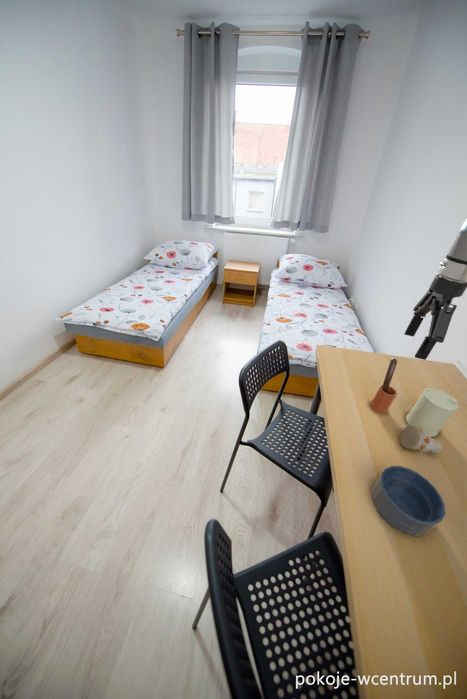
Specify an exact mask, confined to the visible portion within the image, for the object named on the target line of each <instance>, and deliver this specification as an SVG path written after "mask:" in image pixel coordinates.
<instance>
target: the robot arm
mask: <svg viewBox="0 0 467 699" xmlns="http://www.w3.org/2000/svg"><path fill="white" fill-rule="evenodd" d="M439 266H440V267H439V269H438V271H437V272H438V274H435V275H434V278H433V280H432V282H431V283H430V285H429V287H428V289H427V291H426V293H425V294H424V295H423V296H422V298H421V299H420V300H419V301H418V302H417V303H416V304H415V306H414V307H413V309H412V311H413V316H412V318H411V319H410V321H409V323H408V326H407V327H406V330H405V331H404V333H403V334H404V335H405V336H409V337H415V335H416V333H417V332H418V330H419V328H420V327H421V324H422V323H423V321H424V318H426V315H427V314H428V313H430V315H431V316H432V317H431V321H430V326H429V330H428V334H427V336H424V339H423V340H422V343H421V345H420V346H419V348H418V350H417V351H416V353H415V354H414V358H416V359H420V360H423V361H426V360H427V358H428V357H429V355H430V353H431V352H432V350H433V349H434V347H435V345H436V344H437V343H441V344H442V343H444V341H445V339H446V335H447V333H448V330H449V326H450V324H451V321H452V318H453V316H454V312H455V311H456V310H457V307H458V305H457V304H452V302H453V299H455V298H461V297H462V296H463V295H464V293H465V291H466V289H467V218H466V219H465V221H464V222H463V224H462V226H461V228H460V229H458V232H457V233H456V236H455V237H454V240H453V242H452V244H451V246H450V248H449V250H448V252H447V254H446V255H445V258H444V259H443V261H441V262H440V263H439Z"/></svg>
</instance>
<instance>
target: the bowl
mask: <svg viewBox="0 0 467 699" xmlns="http://www.w3.org/2000/svg"><path fill="white" fill-rule="evenodd" d="M371 496H372V501H373V504H374V506H375V508H376V509H377V511H378V513H379V514H380V515H381V516H382V518H383V519H384V520H385V521H386V522H387V523H388V524H389V525H390V526H392V527H393V528H394V529H396V530H398V531H400V532H401V533H403V534H405V535H409V536H412V537H423V536H425V535H427V534H428V533H430V532H431V531H432V530H433V529H435V528H436V527H437V526H438V525H439V524H440V523H442V521H443V520H444V518H445V516H446V504H445V502H444V500H443V498H442V495H441V494H440V492H439V491H438V489H437V488H436V487H435V486H434V484H432V483H431V482H430V481H429V479H427V478H426V477H424V476H423V475H422V474H420V472H417V471H415V470H413V469H411V468H409V467H405V466H401V465H390V466H389V467H386V468H384V470H383V471H382V472H381V473H380V475H379V476H378V478H377V479H376V481H375V482H374V483H373V485H372V489H371Z"/></svg>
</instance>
